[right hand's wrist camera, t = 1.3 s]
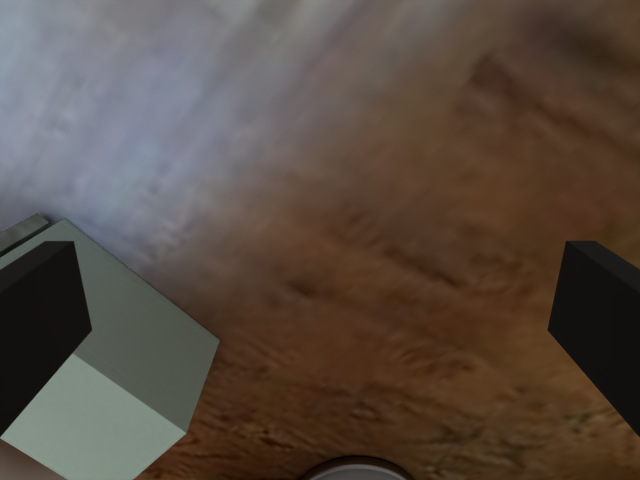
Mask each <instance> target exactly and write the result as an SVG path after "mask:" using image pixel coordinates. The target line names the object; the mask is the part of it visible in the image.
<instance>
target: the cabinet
mask: <svg viewBox="0 0 640 480" xmlns="http://www.w3.org/2000/svg"><path fill="white" fill-rule="evenodd" d="M44 241H74V244H75V249H76V253H77V258H78V263H79V268H80V273H81V277H82V282H83V287H84V292H85V297H86V302H87V306H88V311H89V316H90V321H91V326H92V331H91V332H90V334H89V335H88V336H87V337H86V338H85V339H84V340H83V342H82V343H81V344H80V345H79V346H78V347H77V349H76V350H75V351H74V352H73V353H72V354H71V356H70V357H69V358H68V359H67V360H66V361H65V363H64V364H63V365H62V366H61V367H60V368H59V370H58V371H57V372H56V373H55V374H54V375H53V377H52V378H51V379H50V380H49V381H48V382H47V384H46V385H45V386H44V387H43V388H42V389H41V391H40V392H39V393H38V394H37V395H36V396H35V397H34V399H33V400H32V401H31V402H30V403H29V404H28V406H27V407H26V408H25V409H24V410H23V411H22V413H21V414H20V415H19V416H18V417H17V418H16V420H15V421H14V422H13V423H12V424H11V425H10V427H9V428H8V429H7V430H6V431H5V432H4V434H3V435H2V436H1V437H0V438H1V439H3V440H4V441H6V442H7V443H9V444H11V445H12V446H14V447H16V448H17V449H19V450H20V451H22V452H24V453H25V454H27V455H29V456H30V457H32V458H33V459H35V460H37V461H38V462H40V463H42V464H43V465H45V466H47V467H48V468H50V469H51V470H53V471H55V472H56V473H58V474H60V475H61V476H63V477H64V478H66V479H68V480H133V479H134V478H135V477H137V476H138V475H139V474H140V473H141V472H142V471H143V470H145V469H146V468H147V467H148V466H149V465H150V464H152V463H153V462H154V461H155V460H156V459H157V458H158V457H160V456H161V455H162V454H163V453H164V452H165V451H167V450H168V449H169V448H170V447H171V446H172V445H173V444H175V443H176V442H177V441H178V440H179V439H180V438H182V437H183V436H184V435H185V434H186V433H187V430H188V427H189V425H190V421H191V419H192V416H193V413H194V410H195V408H196V405H197V402H198V399H199V397H200V394H201V391H202V388H203V386H204V383H205V380H206V377H207V375H208V372H209V369H210V366H211V364H212V361H213V358H214V355H215V353H216V350H217V347H218V344H219V342H220V340H219V339H218V338H216V337H215V336H214V335H213V334H211V333H210V332H209V331H207V330H206V329H205V328H204V327H202V326H201V325H200V324H199V323H197V322H196V321H195V320H194V319H192V318H191V317H190V316H188V315H187V314H186V313H185V312H183V311H182V310H181V309H180V308H178V307H177V306H176V305H174V304H173V303H172V302H171V301H169V300H168V299H167V298H166V297H164V296H163V295H162V294H160V293H159V292H158V291H157V290H155V289H154V288H153V287H152V286H150V285H149V284H148V283H146V282H145V281H144V280H143V279H141V278H140V277H139V276H138V275H136V274H135V273H134V272H133V271H131V270H130V269H129V268H127V267H126V266H125V265H124V264H122V263H121V262H120V261H119V260H117V259H116V258H115V257H113V256H112V255H111V254H110V253H108V252H107V251H106V250H105V249H103V248H102V247H101V246H99V245H98V244H97V243H96V242H94V241H93V240H92V239H91V238H89V237H88V236H87V235H85V234H84V233H83V232H82V231H80V230H79V229H78V228H77V227H75V226H74V225H73V224H71V223H70V222H69V221H68V220H66V219H65V218H64V219H62V220H61V221H59V222H58V223H56V224H54V225H53V226H51V227H49V228H48V229H46V230H44V231H43V232H41V233H40V234H38V235H36V236H35V237H33V238H31V239H30V240H28V241H27V242H25V243H23V244H22V245H20V246H18V247H17V248H15V249H14V250H12V251H10V252H9V253H7V254H5V255H4V256H2V257H1V258H0V269H2V268H4V267H5V266H7V265H8V264H10V263H11V262H13V261H15V260H16V259H18V258H19V257H21V256H22V255H24V254H25V253H27V252H29V251H30V250H32V249H33V248H35V247H36V246H38V245H40V244H41V243H43V242H44Z"/></svg>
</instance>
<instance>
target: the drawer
mask: <svg viewBox="0 0 640 480" xmlns="http://www.w3.org/2000/svg"><path fill="white" fill-rule="evenodd" d="M48 223H49V222H48V221H47V220H45V219H44V218H43V217H42V216H40V215H39V214H38V213H37V214H35V215H33V216H31V217H29V218H28V219H26V220H24V221H22V222H20V223H18V224H16V225H15V226H13V227H11V228H9V229H7V230H5V231H3V232H2V233H0V258H1V257H2V256H4V255H5V254H7V253H9V252H10V251H12V250H14V249H15V248H17V247H18V246H20V245H22V244H23V243H25V242H27V241H28V240H30V239H31V238H33V237H35V236H36V235H38V234H40V233H41V232H42V231H43V229H44V228H45V227H46V226H47V225H48Z"/></svg>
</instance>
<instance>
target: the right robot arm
mask: <svg viewBox="0 0 640 480" xmlns="http://www.w3.org/2000/svg"><path fill="white" fill-rule="evenodd" d="M91 331H92V326H91V321H90V316H89V311H88V306H87V302H86V297H85V292H84V287H83V282H82V277H81V273H80V268H79V263H78V258H77V253H76V249H75V244H74V241H44V242H43V243H41V244H40V245H38V246H36V247H35V248H33V249H32V250H30V251H29V252H27V253H25V254H24V255H22V256H21V257H19V258H18V259H16V260H15V261H13V262H11V263H10V264H8V265H7V266H5V267H4V268H2V269H0V437H1V436H2V435H3V434H4V432H5V431H6V430H7V429H8V428H9V427H10V425H11V424H12V423H13V422H14V421H15V420H16V418H17V417H18V416H19V415H20V414H21V413H22V411H23V410H24V409H25V408H26V407H27V406H28V404H29V403H30V402H31V401H32V400H33V399H34V397H35V396H36V395H37V394H38V393H39V392H40V391H41V389H42V388H43V387H44V386H45V385H46V384H47V382H48V381H49V380H50V379H51V378H52V377H53V375H54V374H55V373H56V372H57V371H58V370H59V368H60V367H61V366H62V365H63V364H64V363H65V361H66V360H67V359H68V358H69V357H70V356H71V354H72V353H73V352H74V351H75V350H76V349H77V347H78V346H79V345H80V344H81V343H82V342H83V340H84V339H85V338H86V337H87V336H88V335H89V334H90V332H91ZM548 331H549V332H550V334H551V335H552V336H553V337H554V338H555V339H556V340H557V342H558V343H559V344H560V345H561V346H562V347H563V349H564V350H565V351H566V352H567V353H568V354H569V356H570V357H571V358H572V359H573V360H574V361H575V363H576V364H577V365H578V366H579V367H580V368H581V370H582V371H583V372H584V373H585V374H586V375H587V377H588V378H589V379H590V380H591V381H592V382H593V384H594V385H595V386H596V387H597V388H598V389H599V391H600V392H601V393H602V394H603V395H604V396H605V397H606V399H607V400H608V401H609V402H610V403H611V404H612V406H613V407H614V408H615V409H616V410H617V411H618V413H619V414H620V415H621V416H622V417H623V418H624V420H625V421H626V422H627V423H628V424H629V425H630V427H631V428H632V429H633V430H634V431H635V432H636V434H637V435H638V436H639V437H640V269H638V268H636V267H635V266H633V265H632V264H630V263H629V262H627V261H625V260H624V259H622V258H621V257H619V256H618V255H616V254H615V253H613V252H611V251H610V250H608V249H607V248H605V247H604V246H602V245H600V244H599V243H597V242H596V241H566V244H565V249H564V253H563V258H562V263H561V268H560V273H559V277H558V282H557V287H556V292H555V297H554V302H553V306H552V311H551V316H550V321H549V326H548ZM300 480H413V479H412V478H411V476H409V475H408V474H407V473H406V472H405V471H404V470H402V469H401V468H399V467H397V466H395V465H393V464H391V463H389V462H386V461H383V460H379V459H375V458H368V457H346V458H340V459H336V460H332V461H329V462H326V463H323V464H321V465H319V466H317V467H315V468H314V469H312V470H310V471H309V472H308V473H307V474H305V475H304V476H303V477H302V478H301V479H300Z"/></svg>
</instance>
